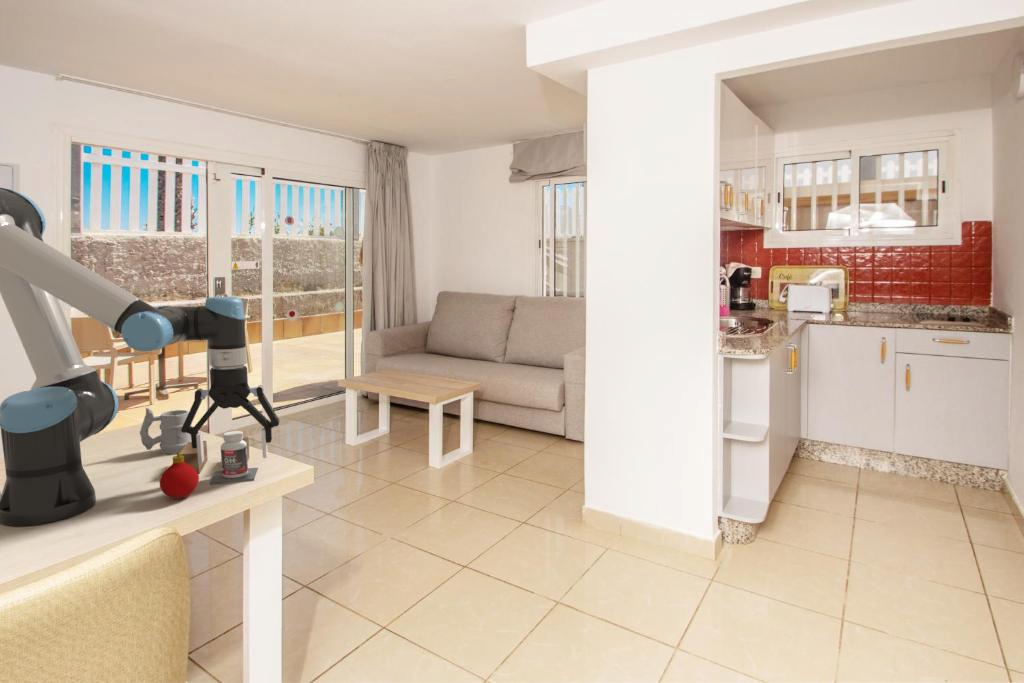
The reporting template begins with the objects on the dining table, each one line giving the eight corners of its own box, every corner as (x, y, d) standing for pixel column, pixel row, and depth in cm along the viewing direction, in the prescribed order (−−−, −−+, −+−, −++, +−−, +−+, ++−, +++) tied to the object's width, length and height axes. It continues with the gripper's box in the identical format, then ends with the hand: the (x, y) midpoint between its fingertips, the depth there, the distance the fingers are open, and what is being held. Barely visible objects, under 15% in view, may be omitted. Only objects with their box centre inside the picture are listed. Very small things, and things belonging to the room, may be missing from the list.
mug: (196, 451, 154) (193, 405, 152) (142, 459, 147) (138, 412, 145) (192, 443, 160) (189, 400, 158) (140, 451, 153) (136, 405, 151)
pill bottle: (224, 480, 132) (221, 437, 130) (220, 473, 136) (218, 432, 135) (250, 476, 135) (248, 434, 133) (246, 469, 139) (244, 428, 138)
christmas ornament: (202, 498, 123) (199, 452, 121) (162, 506, 119) (159, 458, 117) (197, 488, 128) (194, 443, 127) (159, 495, 124) (155, 449, 123)
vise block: (179, 475, 136) (178, 454, 135) (189, 461, 145) (188, 441, 145) (244, 470, 140) (243, 449, 139) (249, 456, 149) (248, 437, 148)
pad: (209, 484, 131) (209, 482, 130) (215, 472, 138) (215, 471, 138) (254, 480, 133) (254, 478, 133) (257, 469, 140) (257, 467, 140)
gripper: (161, 371, 125) (168, 469, 128) (286, 366, 132) (290, 459, 135) (170, 366, 132) (176, 458, 135) (288, 361, 139) (292, 449, 142)
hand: (233, 459), depth 135 cm, fingers open, 13 cm apart
